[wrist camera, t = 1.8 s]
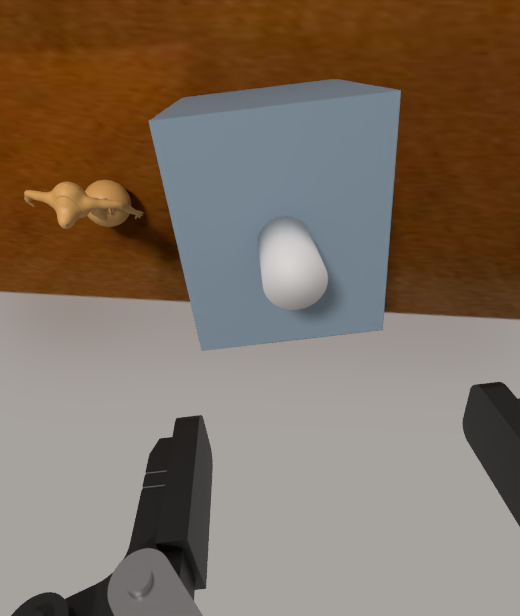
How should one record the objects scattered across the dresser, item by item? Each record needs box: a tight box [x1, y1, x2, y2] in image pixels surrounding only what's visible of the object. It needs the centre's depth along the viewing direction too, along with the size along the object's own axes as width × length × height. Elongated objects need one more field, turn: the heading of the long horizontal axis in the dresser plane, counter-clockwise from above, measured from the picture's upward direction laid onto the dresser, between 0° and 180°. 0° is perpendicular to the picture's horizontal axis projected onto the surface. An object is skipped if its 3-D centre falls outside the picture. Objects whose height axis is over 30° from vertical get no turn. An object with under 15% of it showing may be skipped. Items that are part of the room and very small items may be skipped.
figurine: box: [24, 180, 144, 229], centre depth 31 cm, size 8×6×12 cm
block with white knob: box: [149, 79, 401, 351], centre depth 28 cm, size 13×15×20 cm
